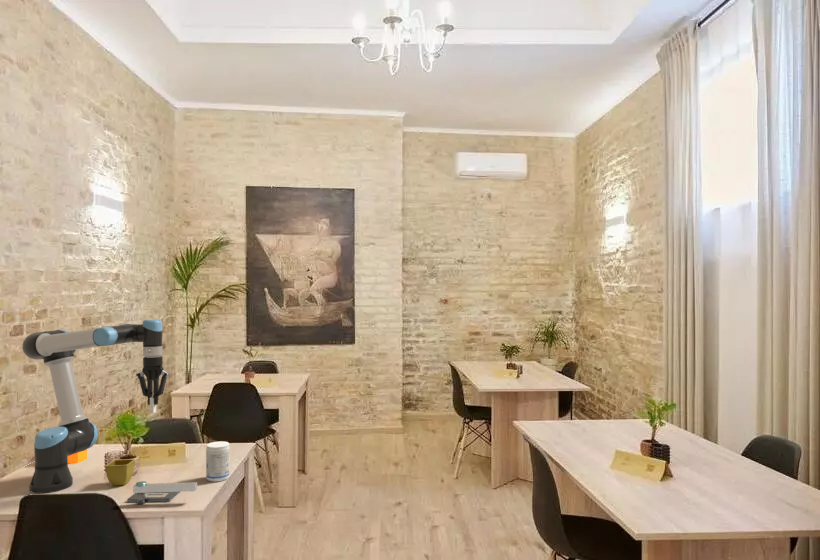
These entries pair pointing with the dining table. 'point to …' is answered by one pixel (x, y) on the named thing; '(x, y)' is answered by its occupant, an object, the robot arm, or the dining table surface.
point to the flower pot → (120, 471)
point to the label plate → (155, 497)
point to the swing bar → (164, 487)
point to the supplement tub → (217, 461)
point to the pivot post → (140, 498)
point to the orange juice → (77, 457)
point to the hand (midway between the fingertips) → (153, 412)
